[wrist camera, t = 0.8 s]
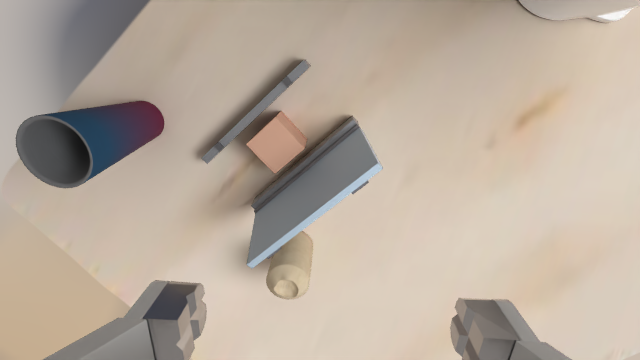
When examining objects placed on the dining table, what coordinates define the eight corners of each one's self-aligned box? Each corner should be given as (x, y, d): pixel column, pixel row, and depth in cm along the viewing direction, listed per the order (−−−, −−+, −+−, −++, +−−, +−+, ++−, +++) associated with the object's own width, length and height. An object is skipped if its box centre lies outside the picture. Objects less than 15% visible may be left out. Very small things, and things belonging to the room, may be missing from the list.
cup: (158, 154, 44) (77, 201, 30) (112, 125, 43) (6, 161, 29) (179, 114, 42) (103, 145, 28) (131, 82, 41) (27, 99, 27)
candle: (274, 256, 50) (261, 303, 41) (280, 226, 48) (267, 268, 39) (309, 263, 50) (304, 311, 41) (316, 233, 48) (312, 276, 39)
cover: (376, 160, 30) (386, 171, 31) (357, 123, 39) (365, 132, 40) (244, 263, 35) (255, 271, 36) (254, 209, 44) (262, 216, 45)
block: (281, 110, 42) (275, 117, 37) (307, 139, 43) (304, 148, 39) (254, 135, 43) (246, 144, 39) (280, 162, 44) (275, 173, 40)
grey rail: (305, 59, 39) (303, 60, 36) (357, 121, 42) (358, 126, 39) (208, 152, 44) (200, 158, 41) (260, 202, 47) (255, 211, 44)
